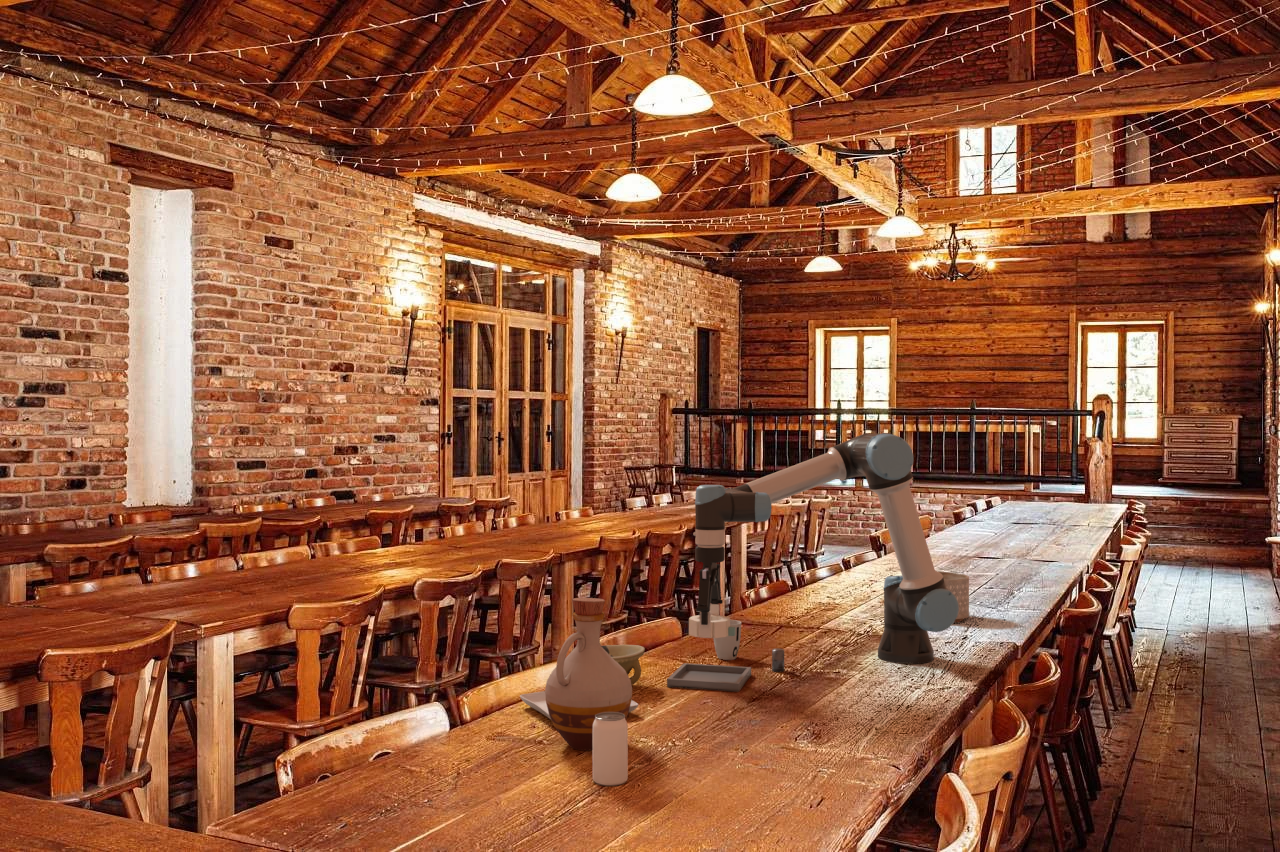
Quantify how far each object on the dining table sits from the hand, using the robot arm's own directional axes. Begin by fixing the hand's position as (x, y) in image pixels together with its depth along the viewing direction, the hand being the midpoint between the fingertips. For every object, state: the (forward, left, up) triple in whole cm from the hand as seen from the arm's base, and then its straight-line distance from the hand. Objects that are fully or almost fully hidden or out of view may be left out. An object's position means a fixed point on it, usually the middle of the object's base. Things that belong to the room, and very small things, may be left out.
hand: (709, 633), depth 274 cm
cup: (+1, -27, -12) cm, 30 cm away
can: (+2, +79, -12) cm, 80 cm away
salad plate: (+23, +36, -13) cm, 44 cm away
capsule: (-15, -16, -12) cm, 25 cm away
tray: (0, 0, -12) cm, 12 cm away
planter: (-56, -104, -12) cm, 119 cm away
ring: (0, 0, 0) cm, 0 cm away
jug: (+13, +60, -12) cm, 63 cm away
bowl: (+23, +12, -12) cm, 29 cm away
